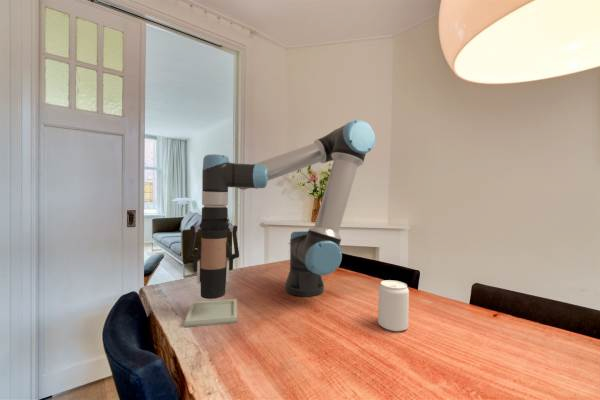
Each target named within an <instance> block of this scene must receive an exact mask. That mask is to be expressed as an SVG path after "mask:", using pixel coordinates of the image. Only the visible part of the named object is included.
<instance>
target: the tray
mask: <svg viewBox="0 0 600 400" xmlns="http://www.w3.org/2000/svg"><path fill="white" fill-rule="evenodd" d="M237 300H238V299H237V298H232V299H217V300H205V301H192V302H191V305H190V307H189V309H188V312H187V314H186V316H185V317H186V318H185V320H184V328H192V327H193V328H194V327H202V326H203V327H204V326H215V325H225V324H236V323H238V304H237V303H238V301H237Z"/></svg>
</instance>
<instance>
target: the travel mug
mask: <svg viewBox="0 0 600 400" xmlns="http://www.w3.org/2000/svg"><path fill="white" fill-rule="evenodd" d="M200 231H201V234H200V243H201V241H202V243H201V254H200V259H201V262H200V283H199V284H200V297H201V298H202V299H206V300H213V299H219V298H222V297H224V296H225V295H226V289H227V288H226V285H227V282H226V267H227V259H228V258H227V257H228V255H227V252H226V241H227V242H228V229H227V230H218V231H208V230H200Z"/></svg>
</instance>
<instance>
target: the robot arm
mask: <svg viewBox="0 0 600 400" xmlns="http://www.w3.org/2000/svg"><path fill="white" fill-rule="evenodd" d="M375 144H376V134H375V131H373V128H372V126H371V125H370V124H369V123H368V122H366V121H364V120H360V119H355V120H351V121H349V122H347V123H345V124H344V125H342V126H341V127H339V128H336V129H334V130H333V131H331V132H329V133H328V134H326V135H324V136H322V137H320V138H318V139H315V140H314V141H313V143H311V144H308V145H306V146H302V147H299V148H296V149H293V150H291V151H290V150H289V151H287V152H284V153H282V154H279V155H276V156H273V157H269V158H267V159H265V160H262V161H258V162H256V163H234V162H233V163H232V162H230V160H229V157H228V155H223V154H206V155H205V156H203V159H202V169H201V170H202V174H201V177H202V178H201V179H202V180H201V181H202V182H201V183H202V187H201V189H202V192H201V205H202V208H201V220H200V221H201V222H200V223H199V224H192V225H191V226H190V228H189V230H190V238H189V244H188V249H187V256H186V259H187V260H191V261H192V262H193V264H192V265H193V266H192V268H193V270H192V271H193V273H196V284H198V285H199V284H201V283H200V262H201V258H200V257H201V243H202V241H201V240H200V244H199V246H198V248H197V250H196V252H195V254H194V249H195V243H196V239H197V233H198V232H199V230H200V231H202V230H208V231H218V230H227V231H228V229H229V232H231V233H232V243H233V250H234V253H232V252H233V251H232V249H231V247H230V245H229V242H228V240H227V241H226V252H227V257H228V258H227V267H226V283H229V282H230V271H233V269H234V260H235V259H239V258H240V252H239V251H240V250H239V245H238V244H239V243H238V237H237V231H238V225H236V224H235V225H234V224H229V221H228V215H229V214H228V213H229V210H228V207H227V206H228V204H229V188H238V189H239V190H248V189H255V190H256V189H257V190H258V189H265V188H266V187H267V185H268V182H269V181H271V180H274V179H277V178H279V177H282V176H285V175H288V174H291V173H294V172H296V171H300V170H302V169H304V168H307V167H310V166H312V165H315V164H318V163H320V164H325V163H329V162H331V161H332V166H331V169H330V172H329V176H328V179H327V183H326V186H325V190H324V192H323V196H322V199H321V203H320V206H319V208H318V213H317V217H316V219H315V223H314V225H313V226H312V227H310V228H309V229H308V231H307V230H306V231H303V230H302V231H292V232H291V234H290V239H289V242H290V243H289V245H290V248H289V249H290V250H289V251H290V252H289V255H290V256H289V270H288V271H289V272H288V275H287V278H286V280H285V281H286V282H285V285H284V286H285V287H284V289H285V290H284V291H285V293H288V294H289V295H292V296H297V297H314V296H319V295H321V294H324V290H325V284H324V280H323V277H322V276H327V275H330V274H332V273H333V272H335V271H337V270H338V268H339V267H340V265H341V262H342V259H343V253H342V251H341V248H340V244H341V242H342V237H341V235H340V233H339V231H340V228H341V224H342V221H343V218H344V214H345V211H346V208H347V205H348V201H349V197H350V194H351V191H352V188H353V184H354V180H355V176H356V174H357V169H358V167H361V166H362V165H363V164H364V161H365V158H366V155H367V154H368V153H369V152H370V151H372V150H373V148H375V147H374V146H375Z"/></svg>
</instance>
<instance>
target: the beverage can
mask: <svg viewBox="0 0 600 400" xmlns="http://www.w3.org/2000/svg"><path fill="white" fill-rule="evenodd" d="M409 299H410V290H409V288H408V284H407V283H406V282H403V281H399V280H391V279H388V280H387V279H386V280H382V281H380V284H379V286H378V310H377V311H378V312H377V313H378V315H377V323H378V324H379V326H380V327H382V328H384V329H386V330H388V331H391V332H402V331H405V330H407V329H408V328H409V304H410V300H409Z"/></svg>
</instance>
